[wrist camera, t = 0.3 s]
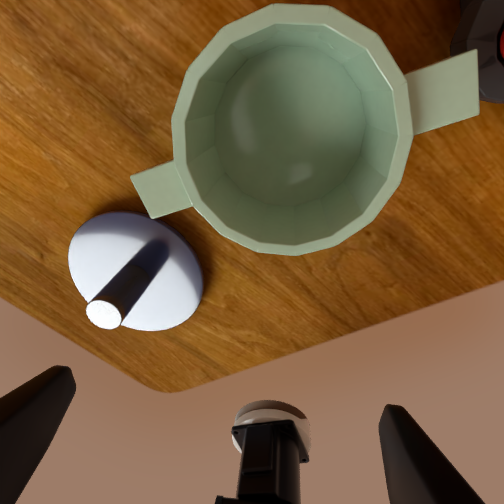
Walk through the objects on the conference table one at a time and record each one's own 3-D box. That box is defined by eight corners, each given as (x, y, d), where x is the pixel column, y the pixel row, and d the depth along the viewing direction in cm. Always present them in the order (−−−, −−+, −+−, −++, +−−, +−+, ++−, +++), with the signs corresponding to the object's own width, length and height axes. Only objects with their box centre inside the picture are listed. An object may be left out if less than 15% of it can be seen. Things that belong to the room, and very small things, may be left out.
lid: (226, 308, 25) (210, 360, 20) (119, 332, 28) (82, 383, 23) (170, 188, 21) (133, 217, 16) (50, 229, 24) (-13, 265, 19)
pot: (431, 173, 19) (492, 206, 13) (205, 238, 23) (177, 286, 17) (411, -25, 15) (486, -98, 9) (141, 94, 19) (76, 94, 13)
